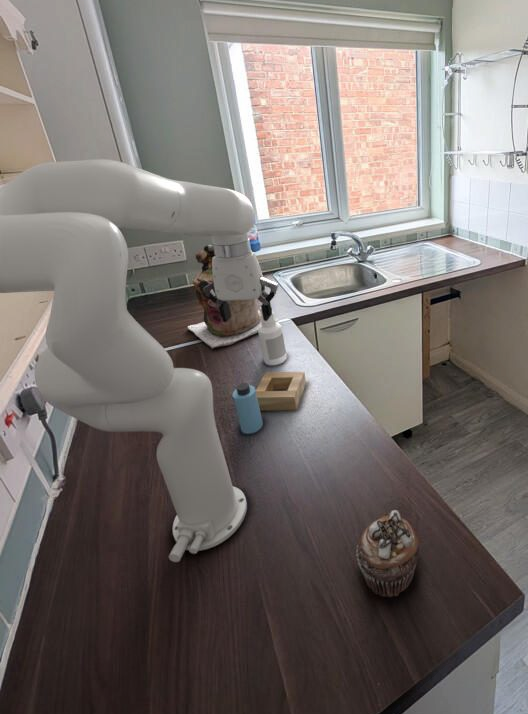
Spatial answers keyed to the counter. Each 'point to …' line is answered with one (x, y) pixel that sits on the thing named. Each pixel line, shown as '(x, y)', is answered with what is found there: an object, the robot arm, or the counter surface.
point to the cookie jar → (213, 327)
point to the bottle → (247, 408)
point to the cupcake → (388, 554)
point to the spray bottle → (271, 340)
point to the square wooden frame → (280, 399)
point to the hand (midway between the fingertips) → (247, 319)
